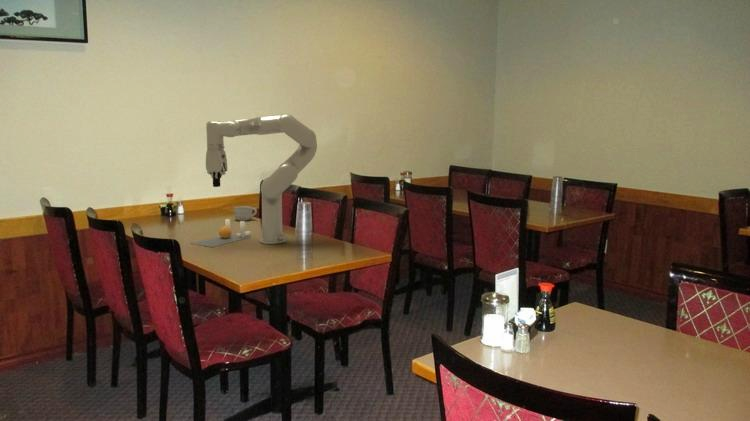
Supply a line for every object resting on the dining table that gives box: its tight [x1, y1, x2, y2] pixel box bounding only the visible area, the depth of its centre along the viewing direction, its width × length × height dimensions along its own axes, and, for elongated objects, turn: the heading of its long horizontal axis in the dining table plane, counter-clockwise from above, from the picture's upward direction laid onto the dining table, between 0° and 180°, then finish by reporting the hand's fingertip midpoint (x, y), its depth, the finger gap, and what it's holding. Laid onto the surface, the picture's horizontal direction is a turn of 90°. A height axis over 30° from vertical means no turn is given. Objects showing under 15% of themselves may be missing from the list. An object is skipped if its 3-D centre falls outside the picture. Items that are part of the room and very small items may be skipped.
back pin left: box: [239, 221, 246, 238], centre depth 291 cm, size 2×2×8 cm
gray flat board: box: [190, 233, 252, 248], centre depth 287 cm, size 14×26×1 cm, turn 149°
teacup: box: [233, 205, 258, 222], centre depth 340 cm, size 14×11×8 cm
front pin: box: [235, 230, 252, 238], centre depth 296 cm, size 2×2×8 cm
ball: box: [218, 226, 232, 239], centre depth 291 cm, size 6×6×6 cm
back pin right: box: [224, 218, 231, 229], centre depth 296 cm, size 2×2×8 cm
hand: (216, 186), depth 278 cm, fingers closed
